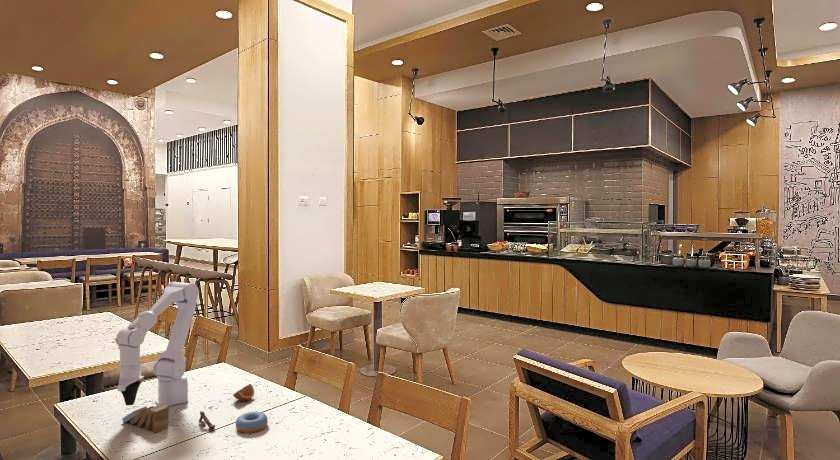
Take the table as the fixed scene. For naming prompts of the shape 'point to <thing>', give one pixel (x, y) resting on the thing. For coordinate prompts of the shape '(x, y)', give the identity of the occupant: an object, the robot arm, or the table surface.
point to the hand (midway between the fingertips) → (130, 404)
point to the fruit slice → (245, 393)
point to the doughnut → (251, 422)
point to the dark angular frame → (205, 421)
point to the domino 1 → (132, 415)
